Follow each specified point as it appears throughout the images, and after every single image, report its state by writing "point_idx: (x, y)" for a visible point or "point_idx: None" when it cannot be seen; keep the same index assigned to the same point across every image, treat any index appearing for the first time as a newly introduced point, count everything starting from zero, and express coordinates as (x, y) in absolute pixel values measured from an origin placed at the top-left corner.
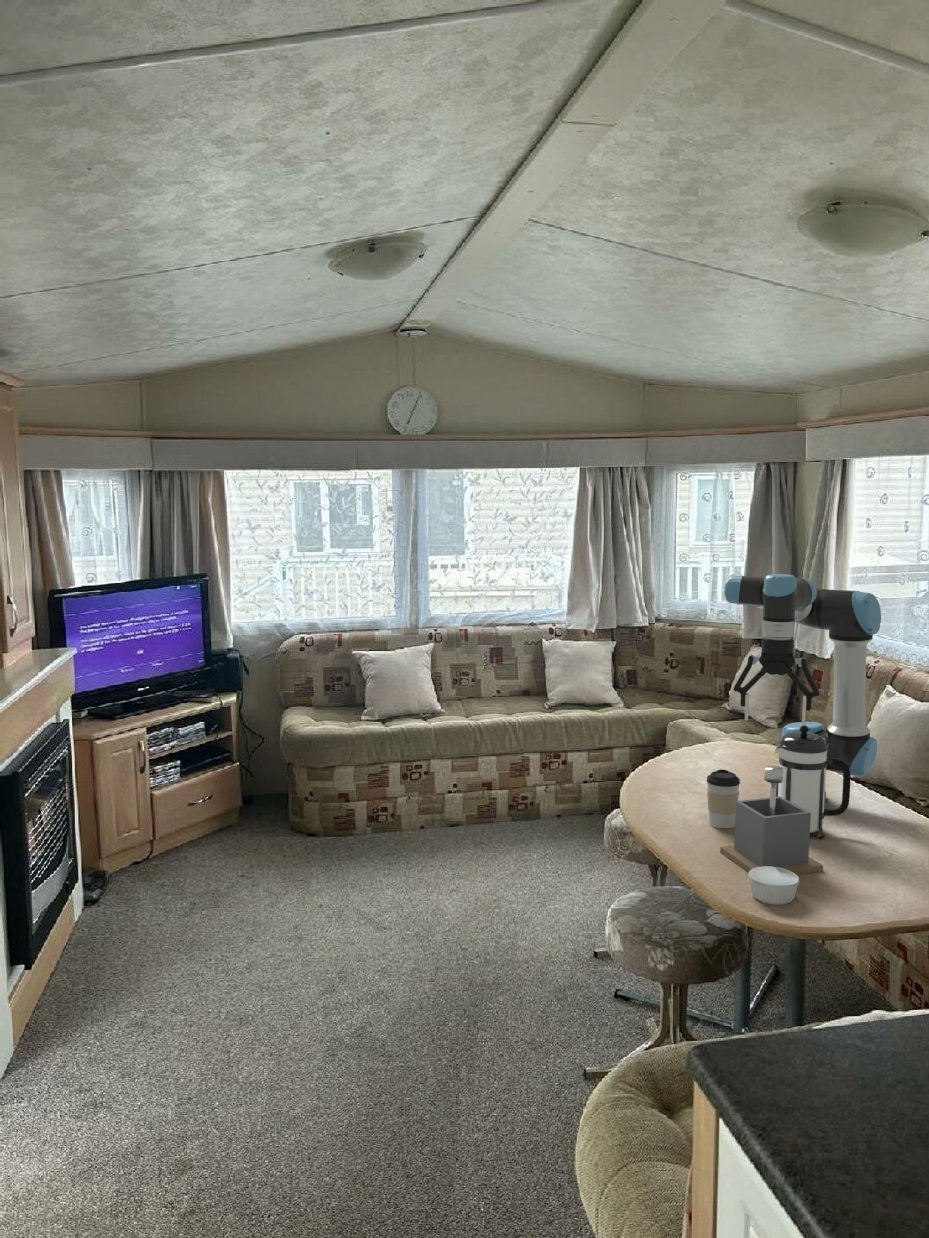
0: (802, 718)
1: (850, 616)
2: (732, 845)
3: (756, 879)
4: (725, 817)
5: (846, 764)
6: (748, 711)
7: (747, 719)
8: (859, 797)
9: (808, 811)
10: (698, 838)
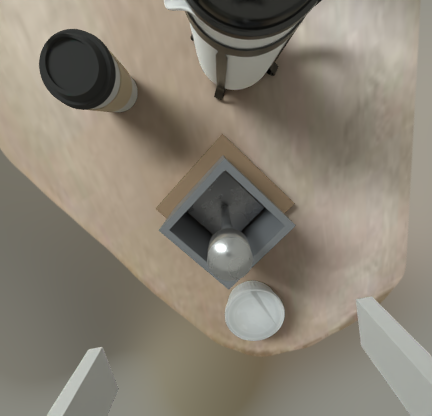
0: (379, 371)
1: None
2: (167, 195)
3: (239, 335)
4: (122, 108)
5: None
6: (87, 379)
7: (115, 393)
8: None
9: (259, 75)
10: (111, 171)
